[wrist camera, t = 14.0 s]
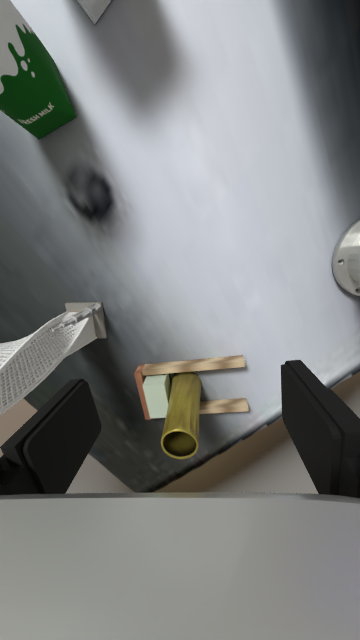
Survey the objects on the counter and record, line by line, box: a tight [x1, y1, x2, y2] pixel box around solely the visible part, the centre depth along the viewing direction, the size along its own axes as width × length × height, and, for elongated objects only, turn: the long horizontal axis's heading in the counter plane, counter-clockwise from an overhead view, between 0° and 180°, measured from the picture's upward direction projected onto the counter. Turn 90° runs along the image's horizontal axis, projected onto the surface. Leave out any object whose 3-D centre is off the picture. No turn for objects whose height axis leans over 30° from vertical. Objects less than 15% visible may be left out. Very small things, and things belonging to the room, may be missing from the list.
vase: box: [161, 372, 202, 459], centre depth 36 cm, size 6×6×14 cm
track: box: [134, 355, 249, 420], centre depth 41 cm, size 20×10×3 cm, turn 99°
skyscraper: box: [0, 302, 107, 415], centre depth 28 cm, size 8×8×28 cm
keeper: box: [142, 373, 171, 418], centre depth 41 cm, size 4×7×4 cm, turn 9°
